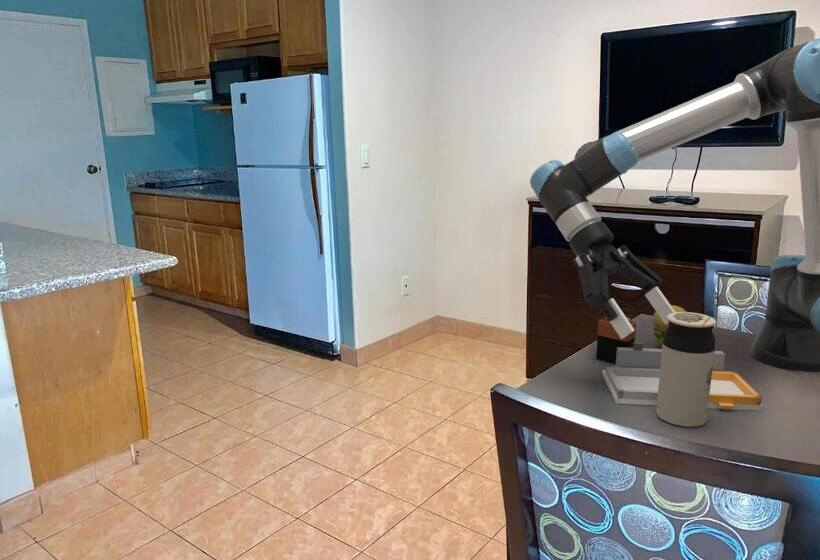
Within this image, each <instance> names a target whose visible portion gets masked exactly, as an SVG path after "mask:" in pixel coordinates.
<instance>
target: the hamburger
mask: <svg viewBox="0 0 820 560" xmlns="http://www.w3.org/2000/svg"><path fill="white" fill-rule="evenodd" d="M670 305H671V306H672V308H673V309H674V311H675V312H687V311H686V310H685V309H684V308H682V307H681V306H678V305H672V304H670ZM652 316H653V317H652V324H653V326H654V328H653V331H654V332H653V340H652V341H653V342H652V343H653V344H654V345H655V346H656V347H657V348H658V349H662V345H663V335H664V332H665V331H666V330H667V328H668V327H669V323H668V324H665V323H664V322H663V320H662V319H661V318H660V316H659V315H658V313H657V312H656V311H655V312H654V313H653V315H652Z"/></svg>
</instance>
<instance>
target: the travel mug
mask: <svg viewBox="0 0 820 560" xmlns="http://www.w3.org/2000/svg"><path fill="white" fill-rule="evenodd" d="M667 319H668V323H669V327H668V328H667V330H666V331H665V332H664V335H663V345H662V348H661V349H662V356H661V367H660V377H659V388H658V398H657V406H656V410H655V412H656V413H655V414H656V416H658V417H659V418H660V419H661V420H663V421H665V422H667V423H669V424H670V425H675V426H678V427H683V428H684V427H685V428H686V427H687V428H693V427H700V426H702V425H704V424H706V422H707V419H708V411H709V410H708V409H709V408H708V404H709V395H710V386H711V378H712V369H713V360H714V352H715V351H716V350H715V349H716V340H717V339H716V337H715V334H714V333H713V329H714V326H715V325H716V324H717V320H716V319H715V318H714V317H712V316H709V315H707V314H703V313H699V312H698V313H697V312H691V311H689V312H688V311H686V312H675V313H670V314H668V315H667Z"/></svg>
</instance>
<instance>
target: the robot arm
mask: <svg viewBox="0 0 820 560" xmlns="http://www.w3.org/2000/svg"><path fill="white" fill-rule="evenodd" d="M784 111H785V118H786V119H785V120H786V125H788V126H790V127H791V128H793V129H794V130H795V131H796V133H797V147H798V149H797V150H798V162H799V177H800V191H801V204H802V205H801V206H802V218H803V234H804V247H805V249H804V250H805V254H804V255H802V254H801V255H800V254H781V255H776V256H775V257H774V258H773V259H772V264H771V268H770V270H769V273H770V274H769V282H768V290H767V291H768V292H767V297H766V298H767V299H766V305H765V306H766V307H765V315H764V321H763V323H762V325H761V326H760V329H759V331H758V333H757V334H756V336H755V338H754V339H753V342H752V344H751V350H750V351H751V352H750V354H751V357H753V359H756V360H757V361H759V362H761V363H764V364H765V365H769V366H772V367H775V368H780V369H783V370H789V371H790V370H791V371H795V372H796V371H797V372H806V373H807V372H808V373H819V372H820V37H818V38H814V39H812V40H810V41H807V42H803V43H802V44H798V45H794V46H792V47H789V48H787V49H785V50H782V51H781V52H779V53H777V54H776V55H774V56H772V57H770V58H768V59H767V60H765V61H764V62H762V63H760V64H757V65H756V66H753V67H751V68H750V69H748V70H745V71H743V72H741V73H739V74H736V77H735V79H734V80H733V82H730V83H728V84H725V85H723V86H721V87H718V88H715V89H714V90H711V91H709V92H707V93H704V94H702V95H699V96H697V97H695V98H692V99H691V100H688V101H686V102H683V103H681V104H678V105H676V106H674V107H671V108H669V109H666V110H664V111H662V112H660V113H657V114H655V115H653V116H650V117H648V118H645V119H643V120H641V121H639V122H636V123H634V124H631V125H629V126H627V127H624V128H622V129H620V130H617V131H614V132H613V133H612V134H608V135H606V136H603V137H601V138H599V139H597V140H594V141H588V142H586V143H584V144H582V145H581V146H580V147H579V148H578V149H577V150H576V152H575V154H574V157H573V158H574V159H573V160H571V161H569V162H567V163H566V164H564V163H563V162H562V161H560V160H558V159H554V160H550V161H548V162H544V163H543V164H541V165H540V166H539V167H537V168H536V169H535V170H534V172H533V173H532V175H531V176H530V180H529V183H530V187H531V189H532V191H533V192H534V194H535V195H536V198H537V199H538V201H539V202H540V204H541V205H542V207H543V208H544V209H545V211H546V213H548V216H549V217H550V219H551V220H552V221H553V222H554V224H555V225H556V226H557V229H558V230H559V231H560V232H561V234H562V236H563V237H564V239H565V240H566V242H569V244H568V245H569V246H570V248H571V250H572V251H573V253H574V254H575V256H576V257H575V258H574V259H573V261H572V262H573V265H574V267H575V269H576V270H577V273H578V276H579V281H580V285H581V289H582V294H583V296H584V301H585V304H586V305H588V306H591V308H592V309H593V310H597V309H598V308H599V310H601V312H602V314H603V315H604V318H605V317H606V318H607V320H609V321H610V323H611V324H612V326H613V327H614V329H615V330H616V332H617V333H618V335H619V336H620V338H621V339H623V338H625V337H626V336H628V335H629V334H630V333H632V332H633V331H635V330H634V328H633V327H632V325H631V324H630V322H629V321H628V320H627V318H626V317H627V316H626V315H625V314H624V312H623V311H622V309H621V308H620V306H619V305H618V303H617V302H616V300H615V299H614V298H613V297H612V298H609V277H608V276H609V275H615V276H619V277H620V276H621V278H624V279H625V280H627V281H628V282H630V283H631V284H633V285H634V286H636V287H637V288H639V289H641V290H642V291H644V292H646V293H645V294H644V296H645V298H646V299H647V301H648V302H649V304H650V305H651V307H652V308H653V309H654V310H655V312H657V313H658V315H659V316H660V318H661V319H662V320H663V322H664V323H665V324H668V319H667V315H668V314H670V313H675V311H674V309H673V308H672V306H673V305H672V304H671V303H670V302H669V300H668V299H667V297H665V295H664V294H663V292H662V291H661V290H660V288H659V286H660V285H661V284H662V282H663V280H662V278H661V277H660V275H657V273H656V272H654V271H653V270H652V269H651V268H649V267H648V266H647V265H646V264H645V263H644V262H643V261H641V260H640V259H639V258H638V257H637V256H636V255H634V254H633V253H632V251H631V250H630V249H629V248H628V247H627V245H625V244H622V245H621V246H620V247H618V248H616V247H615V246H614V245H613V240H614V234H613V233H612V231H611V230H610V229H609V227H608V226H607V225H606V223H605V222H603V221H602V217H601V216H600V215H599V213H598V212H597V210H596V209H595V207H594V206H593V205H592V204H591V202H590V200H589V199H588V197H589V196H591V195H593V194H594V193H595V192H596V191H599V190H600V189H601V188H603V187H604V186H606V185H608V184H610V183H611V182H612V181H614V180H615V179H617V178H619V177H621V176H622V175H623V174H627V172H628V171H630V169H632V168H633V167H635V166H636V165H637V164H638V163H639V162H641V161H644V160H645V159H648V158H650V157H653V156H655V155H657V154H660V153H663V152H665V151H667V150H670V149H672V148H675V147H678V146H679V145H682V144H685V143H688V142H690V141H692V140H696V139H698V138H700V137H702V136H705V135H707V134H709V133H712V132H715V131H716V130H719V129H722V128H724V127H727V126H729V125H732V124H734V123H736V122H737V123H738V122H739V121H742V120H744V119H750V120H758V119H760V118H762V117H765V116H767V115H771V114H774V113H780V112H784ZM671 305H672V306H671Z"/></svg>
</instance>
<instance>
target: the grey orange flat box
mask: <svg viewBox="0 0 820 560" xmlns="http://www.w3.org/2000/svg"><path fill="white" fill-rule="evenodd" d="M643 345H644V344H643V342H642V341H635V342H633V348H622V347H617V354H616V364H615V366H606V369H602V372H601V374H602V375H601V376H602V378H603V379H604V381H605V383H606V385H607V388H608V389H609V392H610V394H611V396H612V398H613V401H614V403H615V404H617V405H619V404H620V405H638V406H639V405H640V406H642V405H643V406H656V407H657V398H658V388H659V377H660V367H661V356H662V348H649V347H648V348H645V347H644V346H643ZM725 356H726V354H725V353H724V351H722V350H719V351H718V350H715V352H714V360H713V369H712V378H711V386H710V395H709V404H708V409H717V410H718V409H719V410H736V411H737V410H739V411H740V410H742V411H758V412H759V411H760V412H763V406H764V405H763V404H762V402H763V401H762V399H763V397H762V396H761V395H760V394H759V393H758V392H757V391H756V390H755V389H754V388H753V387H752V386H751V385H749V383H747V382H746V380H745V379H743V378H742V377H741V376H740V375H739V374H738V373H737V372H736V371H724V366H725V358H726V357H725Z"/></svg>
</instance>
